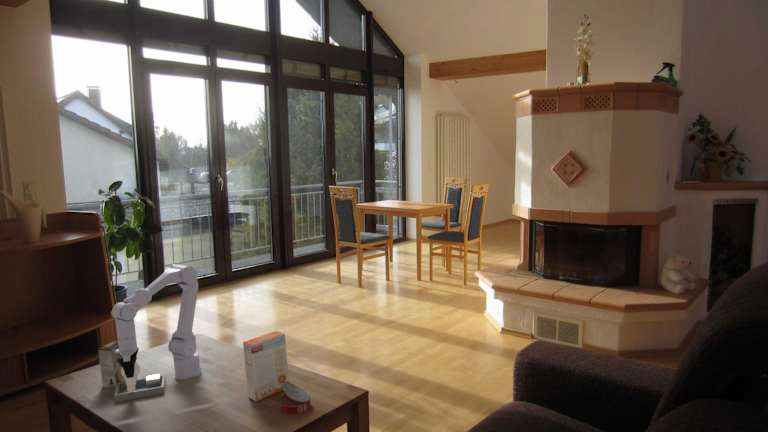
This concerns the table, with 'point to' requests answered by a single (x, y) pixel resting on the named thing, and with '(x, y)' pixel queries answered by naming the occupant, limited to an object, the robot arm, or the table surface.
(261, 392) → the cracker box
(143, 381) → the tote
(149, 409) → the table surface
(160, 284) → the robot arm
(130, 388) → the lightbulb
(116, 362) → the coffee box
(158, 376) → the steel block
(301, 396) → the canned food
